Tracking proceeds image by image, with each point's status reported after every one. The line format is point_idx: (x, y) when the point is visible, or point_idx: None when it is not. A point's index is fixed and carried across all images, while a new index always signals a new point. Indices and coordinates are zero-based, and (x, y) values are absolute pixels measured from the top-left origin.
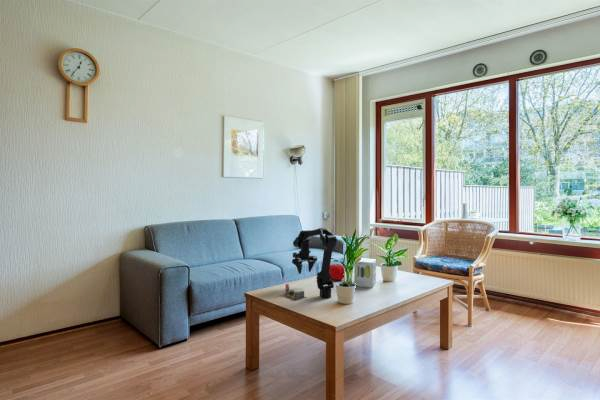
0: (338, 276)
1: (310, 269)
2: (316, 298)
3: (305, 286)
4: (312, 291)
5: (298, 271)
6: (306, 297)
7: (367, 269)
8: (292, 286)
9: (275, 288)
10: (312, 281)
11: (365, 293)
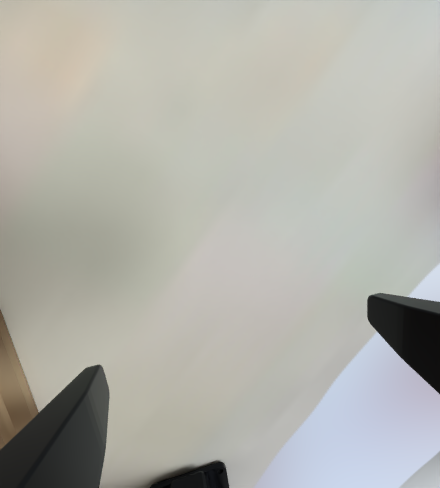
0: None
1: (409, 363)
2: (134, 485)
3: (263, 180)
4: (218, 336)
5: (49, 414)
6: None
7: None
8: (150, 96)
9: None
10: (420, 78)
11: (434, 482)
